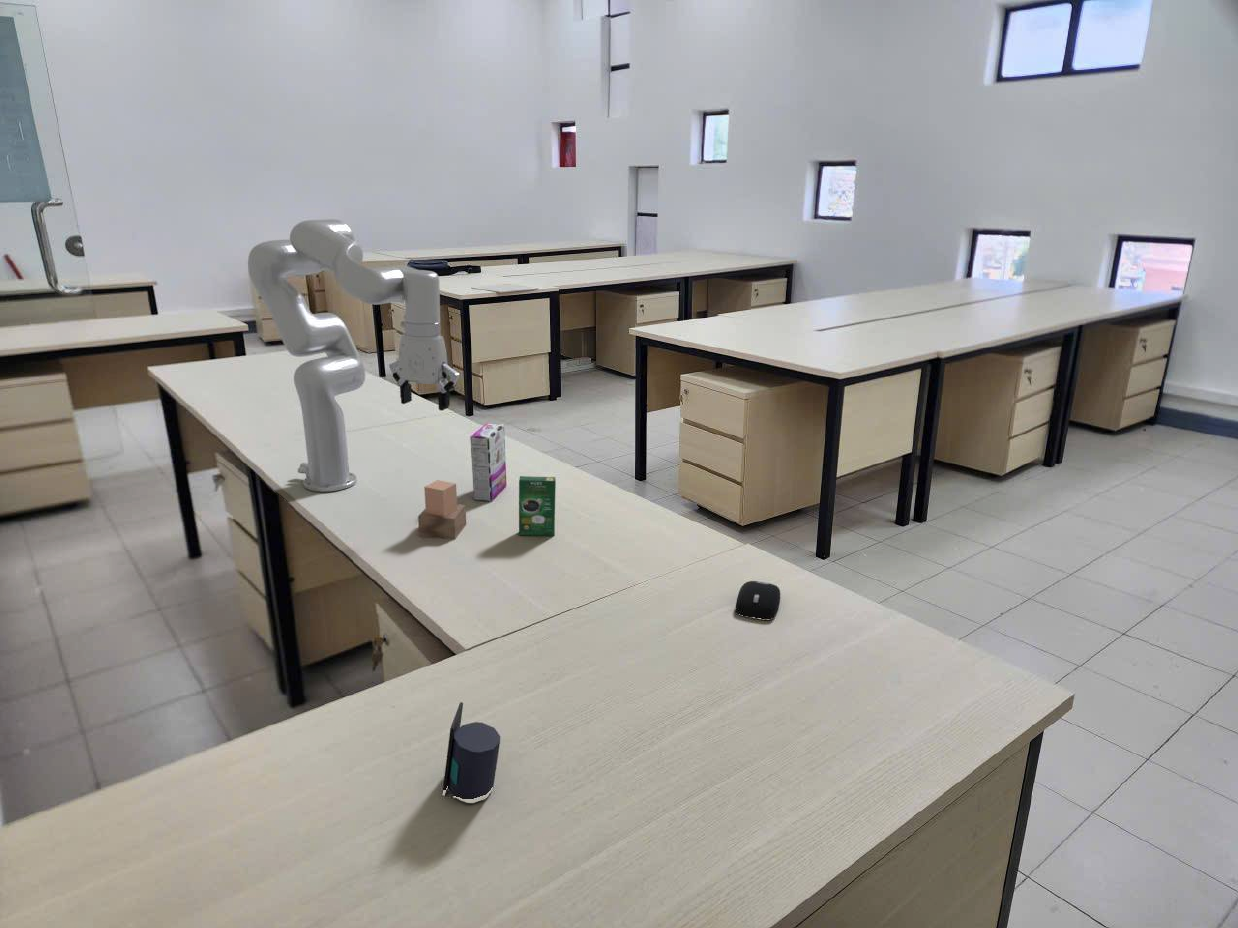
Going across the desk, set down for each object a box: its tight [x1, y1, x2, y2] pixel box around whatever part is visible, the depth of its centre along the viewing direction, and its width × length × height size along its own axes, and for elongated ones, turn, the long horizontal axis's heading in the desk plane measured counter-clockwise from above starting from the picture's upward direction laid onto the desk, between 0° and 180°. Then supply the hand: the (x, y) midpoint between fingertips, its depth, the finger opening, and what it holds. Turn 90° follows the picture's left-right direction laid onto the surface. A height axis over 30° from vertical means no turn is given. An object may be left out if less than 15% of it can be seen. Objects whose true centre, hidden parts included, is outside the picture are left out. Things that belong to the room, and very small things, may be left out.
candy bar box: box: [470, 422, 507, 502], centre depth 199 cm, size 11×5×16 cm, turn 168°
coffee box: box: [518, 475, 557, 537], centre depth 177 cm, size 8×3×13 cm, turn 92°
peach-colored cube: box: [424, 479, 458, 517], centre depth 177 cm, size 5×5×6 cm
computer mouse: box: [735, 580, 781, 620], centre depth 151 cm, size 8×12×4 cm, turn 160°
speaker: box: [442, 701, 501, 799], centre depth 103 cm, size 8×6×10 cm
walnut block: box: [417, 503, 467, 540], centre depth 179 cm, size 8×8×5 cm
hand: (425, 405), depth 182 cm, fingers open, 9 cm apart
